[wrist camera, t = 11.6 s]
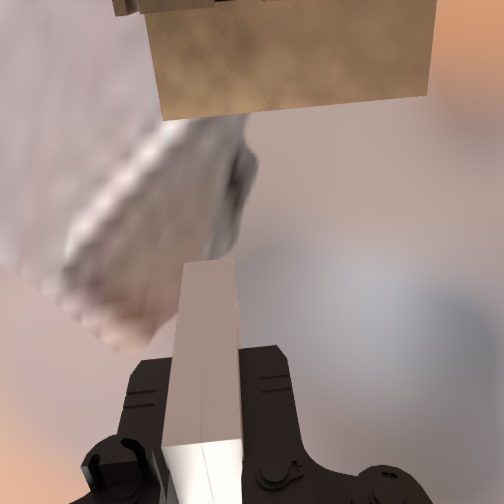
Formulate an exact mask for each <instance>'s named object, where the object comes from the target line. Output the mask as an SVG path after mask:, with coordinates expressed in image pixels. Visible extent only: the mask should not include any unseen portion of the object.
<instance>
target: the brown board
mask: <svg viewBox="0 0 504 504" xmlns="http://www.w3.org/2000/svg"><path fill="white" fill-rule="evenodd" d="M112 2H113V6H114V11H115V16H126V15H130V14H132V13H135V12H138V11H140V14H144V15H145V20H146V26H147V32H148V37H149V43H150V49H151V54H152V60H153V65H154V71H155V77H156V82H157V88H158V94H159V99H160V105H161V111H162V116H163V121H168V120H178V119H189V118H199V117H209V116H219V115H230V114H240V113H250V112H260V111H271V110H280V109H291V108H302V107H312V106H321V105H333V104H343V103H353V102H362V101H373V100H384V99H394V98H405V97H415V96H425V95H427V88H428V78H429V68H430V59H431V50H432V40H433V30H434V22H435V12H436V3H437V0H228V1H217V2H215V0H112Z"/></svg>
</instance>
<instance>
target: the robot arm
mask: <svg viewBox="0 0 504 504" xmlns="http://www.w3.org/2000/svg"><path fill="white" fill-rule="evenodd" d="M126 394H127V395H126V397H125V401H124V406H123V411H122V414H121V418H120V423H119V427H118V432H117V434H116V435H112V436H109V437H108V438H106V439H104V440H102V441H101V442H99V443H97V444H96V445H95V446H94V447H93V448H92V449H91V450H90V451H89V452H88V454H87V455H86V457H85V459H84V461H83V463H82V465H81V469H82V472H83V474H84V476H85V478H86V481H87V483H88V485H89V488H90V490H91V491H90V492H89V493H88V494H86V495H85V496H84V497H82V498H80V499H78V500H76V501H74V502H72V503H69V504H433V503H432V501H431V500H430V499H429V497H428V495H427V494H426V493H425V491H424V490H423V488H422V486H421V485H420V484H419V483H418V482H417V481H416V480H415V479H414V478H413V477H412V476H411V475H410V474H408V473H406V472H404V471H403V470H401V469H399V468H397V467H392V466H387V465H378V466H372V467H369V468H367V469H366V470H364V471H362V472H361V473H359V475H358V476H352V475H347V474H342V473H338V472H334V471H331V470H328V469H325V468H324V467H322V466H320V465H319V464H317V463H316V462H315V461H314V460H312V459H311V458H310V457H309V455H308V454H307V452H306V450H305V449H304V446H303V443H302V440H301V434H300V428H299V423H298V417H297V412H296V406H295V400H294V395H293V390H292V384H291V378H290V373H289V367H288V361H287V358H286V356H285V355H284V354H283V353H282V351H281V350H280V349H279V348H278V346H277V345H273V346H263V347H253V348H244V349H242V336H241V324H240V315H239V307H238V299H237V290H236V283H235V274H234V267H233V258H229V259H219V260H209V261H199V262H190V263H184V269H183V277H182V285H181V293H180V301H179V309H178V317H177V325H176V333H175V341H174V349H173V357H169V358H160V359H150V360H141V362H140V363H139V364H138V366H137V367H136V368H135V370H134V371H133V373H132V374H131V375H130V379H129V383H128V387H127V392H126Z"/></svg>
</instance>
